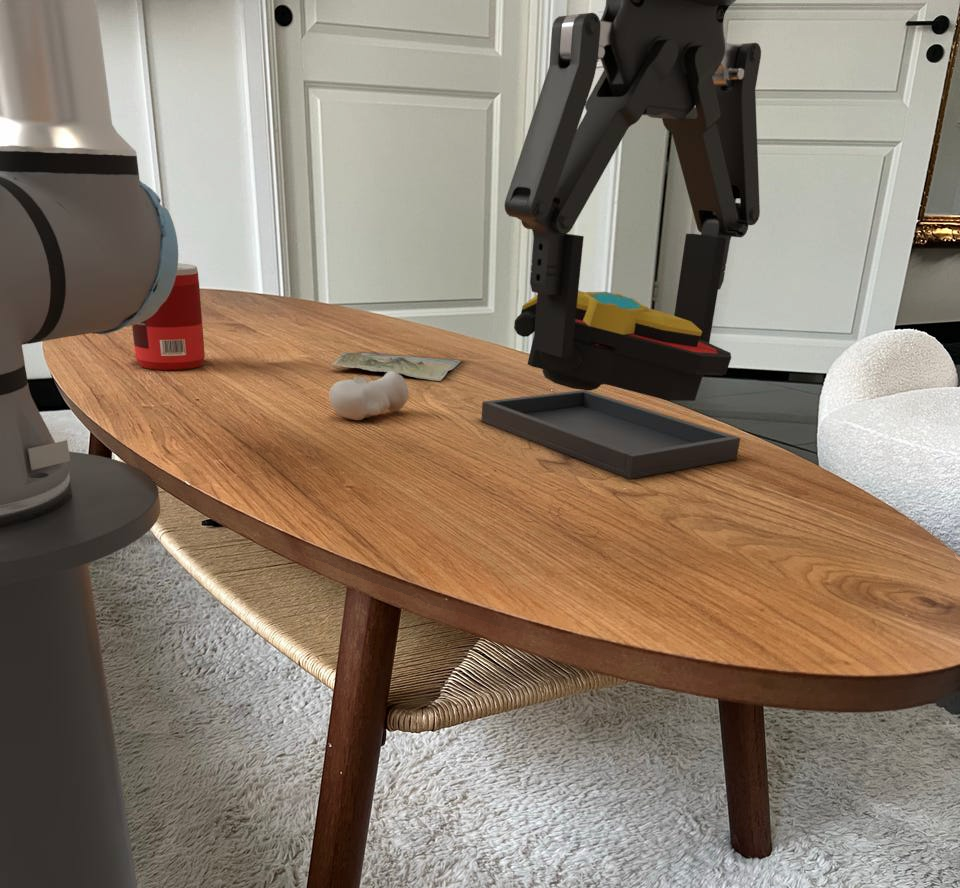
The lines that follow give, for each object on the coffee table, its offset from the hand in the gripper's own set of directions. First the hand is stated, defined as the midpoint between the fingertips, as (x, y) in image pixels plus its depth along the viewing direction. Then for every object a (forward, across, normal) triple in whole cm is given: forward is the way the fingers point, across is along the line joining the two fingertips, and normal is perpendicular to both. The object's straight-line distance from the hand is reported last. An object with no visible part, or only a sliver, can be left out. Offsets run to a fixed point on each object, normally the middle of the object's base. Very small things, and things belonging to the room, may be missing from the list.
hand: (624, 348), depth 58 cm
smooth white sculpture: (+14, +4, +38) cm, 41 cm away
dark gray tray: (+13, +20, +21) cm, 32 cm away
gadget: (+3, 0, 0) cm, 3 cm away
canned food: (+14, -6, +70) cm, 72 cm away
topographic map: (+14, +20, +59) cm, 64 cm away
